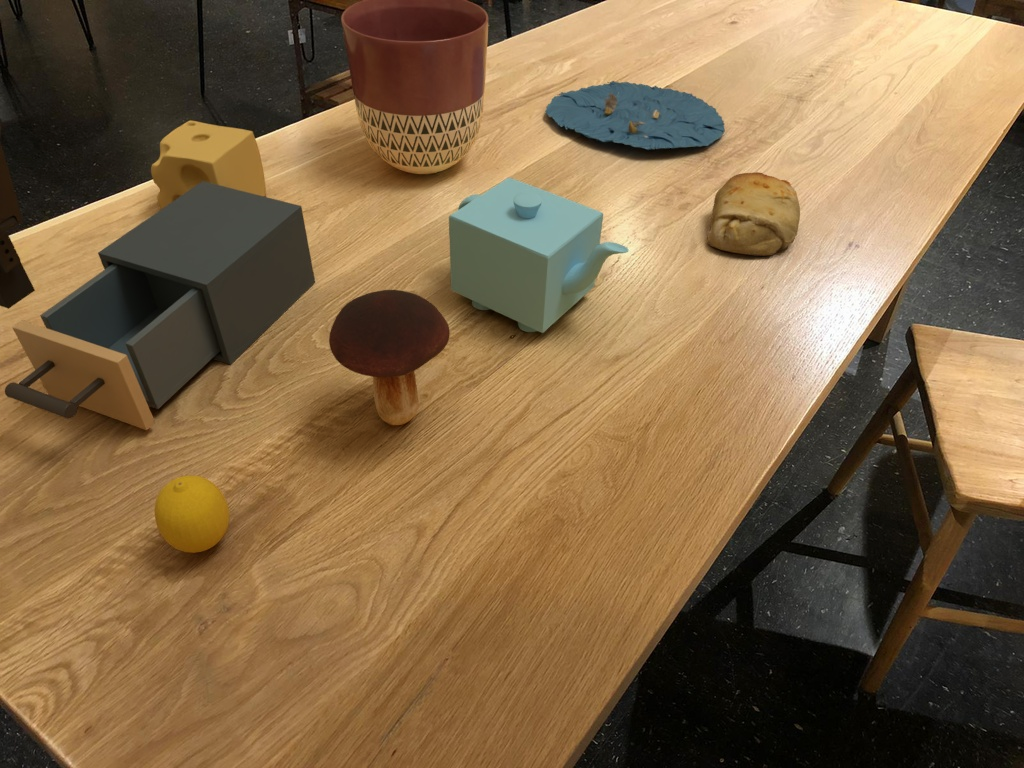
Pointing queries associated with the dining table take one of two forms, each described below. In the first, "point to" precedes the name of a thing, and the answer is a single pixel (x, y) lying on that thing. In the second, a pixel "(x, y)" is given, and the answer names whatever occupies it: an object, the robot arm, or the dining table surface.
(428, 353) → the decorative mushroom
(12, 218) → the robot arm
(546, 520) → the dining table surface
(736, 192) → the pastry
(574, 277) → the teapot
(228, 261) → the cabinet
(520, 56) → the dining table surface
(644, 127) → the decorative plate
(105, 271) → the drawer
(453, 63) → the planter
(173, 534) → the lemon
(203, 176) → the cheese
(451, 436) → the dining table surface
